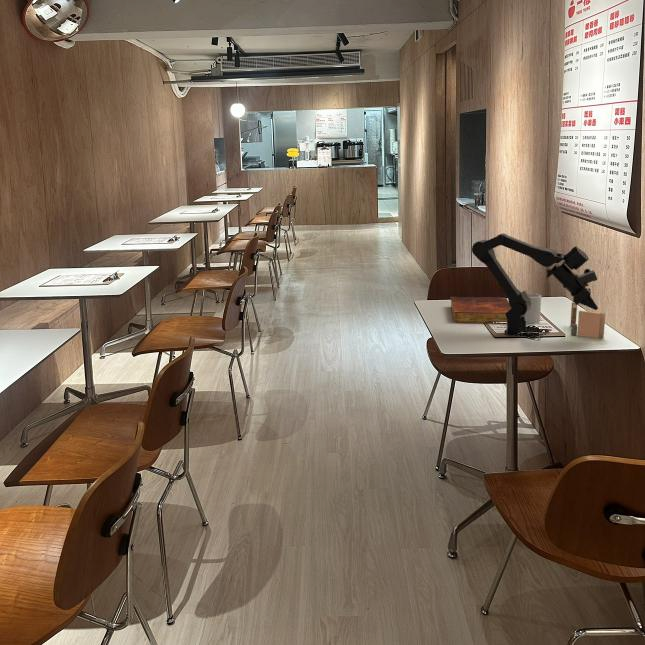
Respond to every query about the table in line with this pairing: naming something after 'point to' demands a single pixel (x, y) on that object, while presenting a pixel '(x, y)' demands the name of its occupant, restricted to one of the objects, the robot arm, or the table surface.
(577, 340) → the card
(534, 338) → the table surface
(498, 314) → the book
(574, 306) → the fence frame
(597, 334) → the block
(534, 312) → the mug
